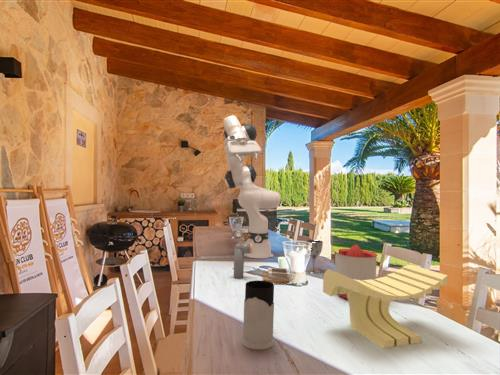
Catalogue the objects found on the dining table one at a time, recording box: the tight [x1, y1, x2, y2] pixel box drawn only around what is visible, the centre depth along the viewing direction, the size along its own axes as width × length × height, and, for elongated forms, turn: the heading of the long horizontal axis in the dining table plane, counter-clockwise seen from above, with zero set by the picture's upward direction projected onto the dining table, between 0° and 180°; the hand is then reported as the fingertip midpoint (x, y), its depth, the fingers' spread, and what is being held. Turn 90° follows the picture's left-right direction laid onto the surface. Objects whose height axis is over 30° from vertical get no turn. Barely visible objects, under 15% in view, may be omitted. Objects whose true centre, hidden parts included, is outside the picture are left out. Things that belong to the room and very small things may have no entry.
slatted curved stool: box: [322, 264, 449, 349], centre depth 96 cm, size 30×16×18 cm, turn 109°
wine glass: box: [305, 239, 324, 274], centre depth 164 cm, size 8×8×15 cm
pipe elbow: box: [233, 242, 252, 280], centre depth 148 cm, size 8×5×15 cm, turn 88°
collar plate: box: [262, 267, 290, 285], centre depth 147 cm, size 14×14×4 cm
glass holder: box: [240, 280, 275, 350], centre depth 90 cm, size 9×14×15 cm, turn 163°
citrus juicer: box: [329, 244, 378, 300], centre depth 128 cm, size 16×17×20 cm
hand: (248, 161), depth 172 cm, fingers open, 8 cm apart
